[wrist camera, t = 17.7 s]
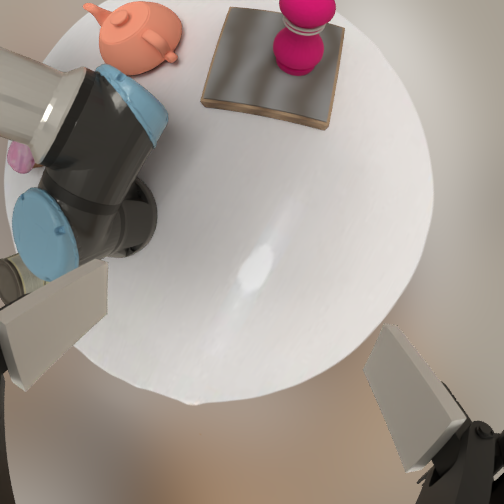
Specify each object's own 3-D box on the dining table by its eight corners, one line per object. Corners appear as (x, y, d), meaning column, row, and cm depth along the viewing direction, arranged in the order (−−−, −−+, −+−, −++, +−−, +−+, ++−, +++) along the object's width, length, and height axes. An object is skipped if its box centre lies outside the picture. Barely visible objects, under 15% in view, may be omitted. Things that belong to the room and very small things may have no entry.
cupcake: (28, 165, 45) (-3, 166, 35) (39, 129, 43) (9, 126, 33) (48, 177, 45) (16, 180, 36) (61, 139, 43) (29, 135, 34)
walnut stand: (205, 107, 41) (199, 100, 37) (232, 16, 36) (229, 5, 32) (324, 130, 41) (329, 125, 37) (340, 36, 36) (345, 26, 32)
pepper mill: (262, 57, 35) (257, -21, 16) (295, 35, 34) (309, -44, 14) (295, 87, 36) (314, 18, 17) (328, 63, 35) (364, -7, 15)
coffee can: (57, 295, 52) (18, 320, 38) (31, 270, 51) (-9, 288, 37) (67, 260, 49) (23, 281, 36) (39, 234, 49) (-5, 249, 35)
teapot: (89, 55, 39) (55, 35, 27) (138, 2, 35) (114, -27, 23) (153, 98, 41) (120, 76, 29) (211, 36, 38) (195, 0, 26)
